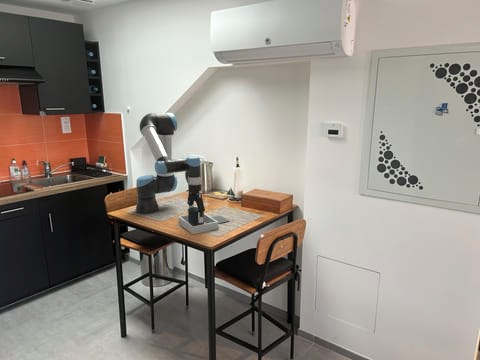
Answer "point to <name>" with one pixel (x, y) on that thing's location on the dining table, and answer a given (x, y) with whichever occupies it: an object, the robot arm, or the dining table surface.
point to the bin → (209, 226)
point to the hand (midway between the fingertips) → (196, 219)
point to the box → (194, 216)
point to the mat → (220, 219)
